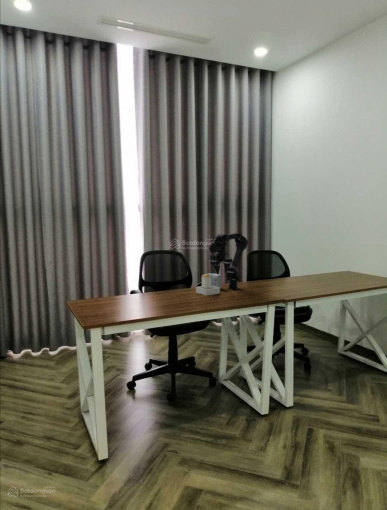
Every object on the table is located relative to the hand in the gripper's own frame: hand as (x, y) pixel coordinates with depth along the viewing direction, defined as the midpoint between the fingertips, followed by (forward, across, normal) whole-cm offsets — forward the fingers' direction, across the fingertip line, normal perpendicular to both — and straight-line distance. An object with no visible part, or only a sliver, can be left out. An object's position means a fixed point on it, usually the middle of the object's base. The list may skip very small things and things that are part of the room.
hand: (221, 273), depth 260 cm
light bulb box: (+13, -5, -12) cm, 19 cm away
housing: (+13, +9, -5) cm, 17 cm away
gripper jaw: (+12, +10, -5) cm, 17 cm away
